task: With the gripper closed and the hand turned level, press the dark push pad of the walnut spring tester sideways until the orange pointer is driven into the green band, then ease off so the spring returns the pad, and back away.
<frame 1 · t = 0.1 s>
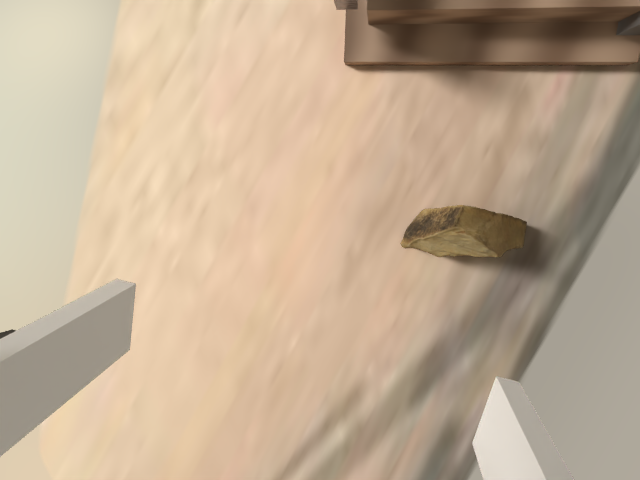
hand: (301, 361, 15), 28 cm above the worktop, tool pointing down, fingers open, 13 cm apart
rock: (462, 233, 41), on the worktop
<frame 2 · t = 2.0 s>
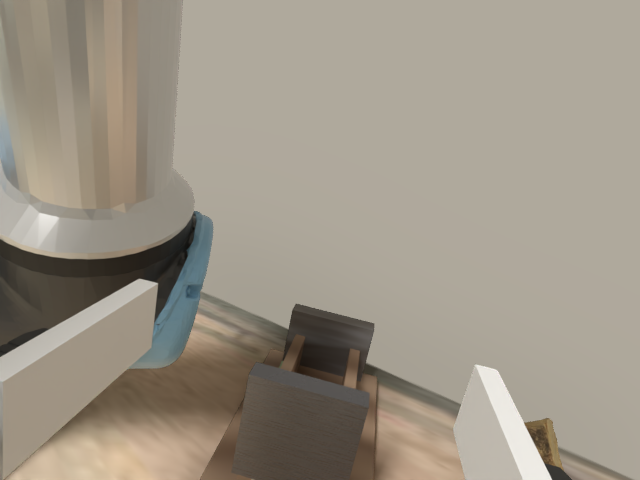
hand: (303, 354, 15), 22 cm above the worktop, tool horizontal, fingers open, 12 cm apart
push plunger: (302, 426, 32), point 8 cm above the worktop, slide at 0.0 cm
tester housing: (303, 436, 42), on the worktop
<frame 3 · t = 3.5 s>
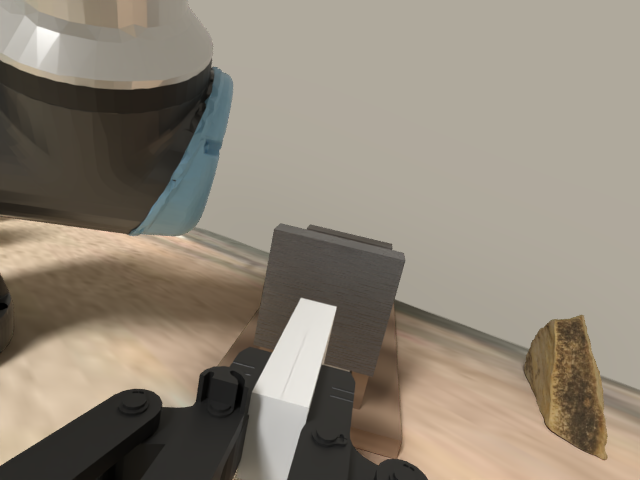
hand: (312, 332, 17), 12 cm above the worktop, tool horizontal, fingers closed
push plunger: (326, 307, 30), point 8 cm above the worktop, slide at 0.0 cm
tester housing: (321, 345, 40), on the worktop
rock: (555, 410, 38), on the worktop
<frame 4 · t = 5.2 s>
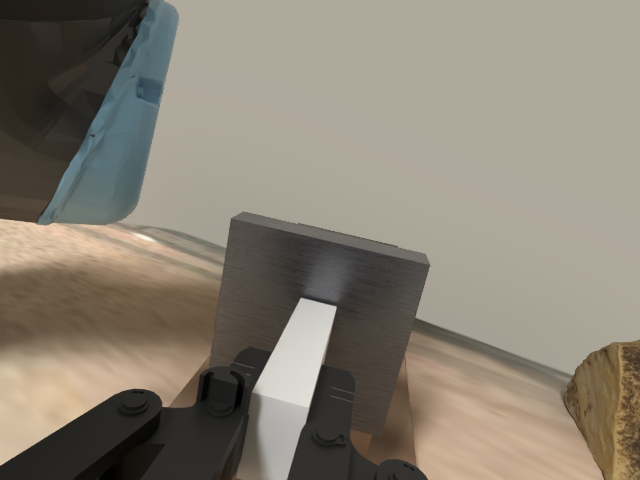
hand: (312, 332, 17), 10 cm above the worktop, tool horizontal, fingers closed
push plunger: (314, 331, 22), point 8 cm above the worktop, slide at 0.0 cm, touching gripper
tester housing: (311, 374, 32), on the worktop
rock: (612, 457, 30), on the worktop
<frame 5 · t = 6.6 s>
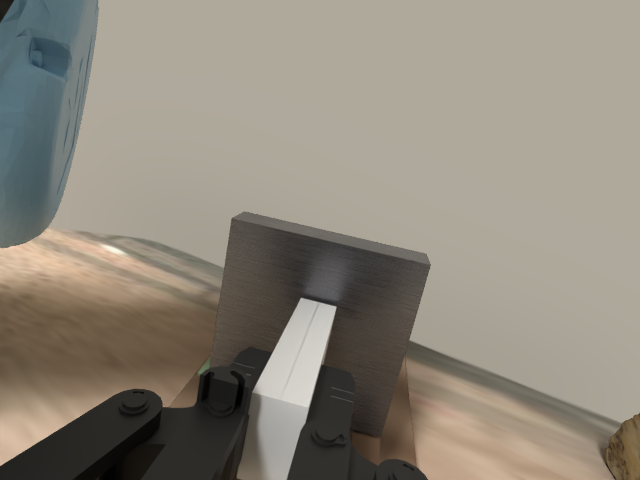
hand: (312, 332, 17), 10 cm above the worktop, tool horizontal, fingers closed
push plunger: (315, 331, 22), point 8 cm above the worktop, slide at 6.5 cm, touching gripper, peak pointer
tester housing: (294, 432, 25), on the worktop
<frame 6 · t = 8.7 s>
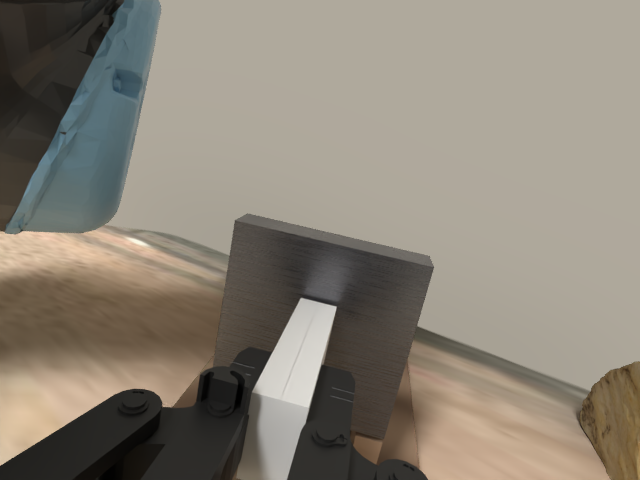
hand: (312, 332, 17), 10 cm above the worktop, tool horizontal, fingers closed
push plunger: (317, 333, 22), point 8 cm above the worktop, slide at 2.2 cm, touching gripper
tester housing: (308, 392, 29), on the worktop
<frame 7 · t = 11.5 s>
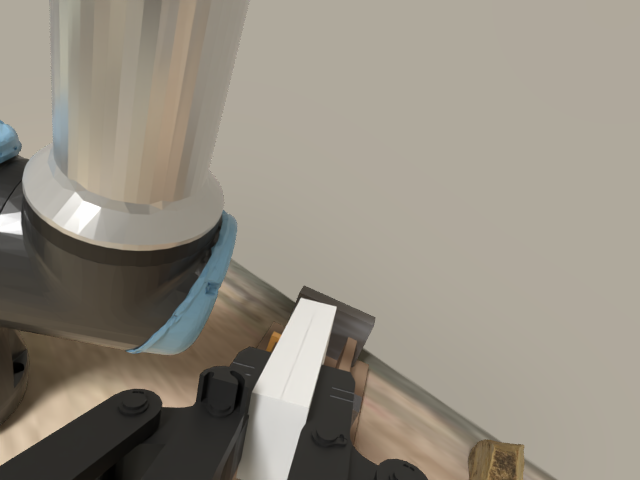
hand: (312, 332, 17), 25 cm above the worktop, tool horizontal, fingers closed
push plunger: (297, 406, 36), point 8 cm above the worktop, slide at 1.5 cm
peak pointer: (298, 363, 47), point 4 cm above the worktop, slide at 6.3 cm
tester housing: (291, 414, 45), on the worktop
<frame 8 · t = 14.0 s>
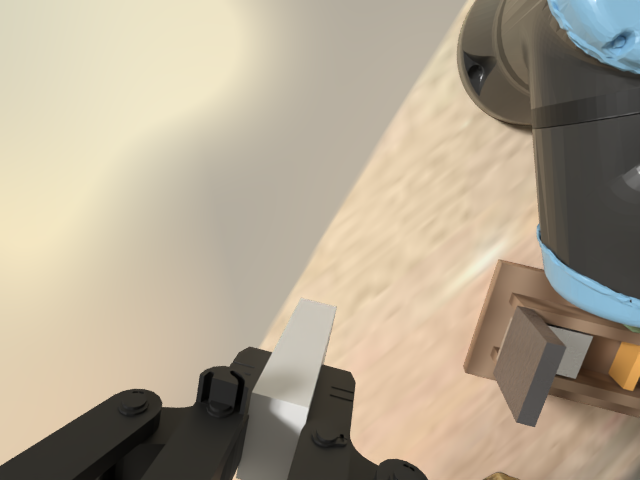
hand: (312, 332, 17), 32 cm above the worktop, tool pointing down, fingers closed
push plunger: (552, 359, 41), point 8 cm above the worktop, slide at 1.5 cm
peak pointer: (639, 353, 43), point 4 cm above the worktop, slide at 6.3 cm
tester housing: (584, 340, 48), on the worktop
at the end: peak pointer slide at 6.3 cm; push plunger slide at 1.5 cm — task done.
